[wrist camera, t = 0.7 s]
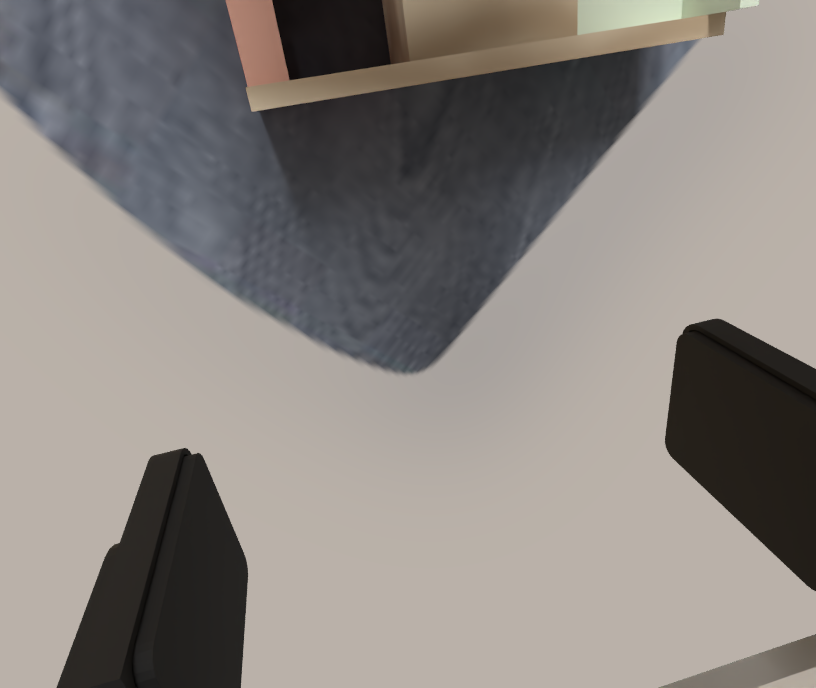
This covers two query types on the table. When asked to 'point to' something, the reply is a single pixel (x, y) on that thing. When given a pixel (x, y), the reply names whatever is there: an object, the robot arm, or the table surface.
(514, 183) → the table surface
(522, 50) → the box
